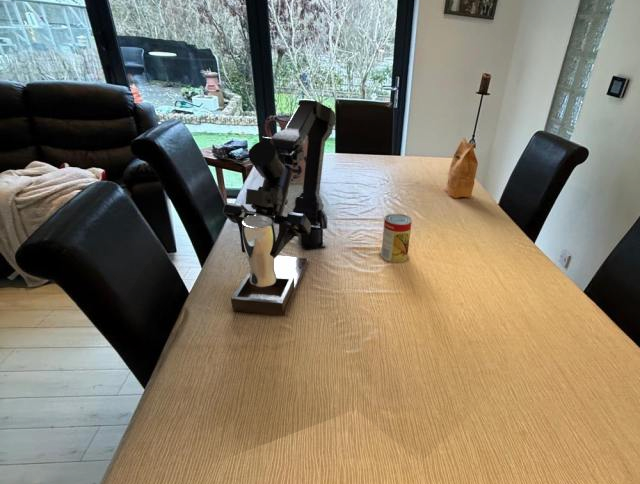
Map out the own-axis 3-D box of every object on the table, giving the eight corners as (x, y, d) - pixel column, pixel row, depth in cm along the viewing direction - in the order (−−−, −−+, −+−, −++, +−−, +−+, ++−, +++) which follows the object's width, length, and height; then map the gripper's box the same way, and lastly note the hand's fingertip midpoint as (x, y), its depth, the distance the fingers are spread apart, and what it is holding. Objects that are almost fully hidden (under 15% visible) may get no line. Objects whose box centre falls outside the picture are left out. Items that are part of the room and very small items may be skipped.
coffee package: (463, 189, 185) (473, 137, 173) (473, 199, 175) (484, 145, 163) (442, 189, 183) (450, 136, 171) (451, 199, 173) (460, 144, 161)
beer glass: (284, 281, 97) (281, 222, 88) (259, 292, 92) (253, 231, 84) (266, 269, 100) (262, 211, 91) (241, 279, 96) (234, 219, 87)
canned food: (412, 257, 125) (417, 219, 119) (395, 265, 120) (399, 226, 114) (393, 248, 129) (397, 211, 123) (375, 255, 124) (378, 217, 118)
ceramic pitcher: (314, 189, 169) (313, 123, 155) (262, 185, 168) (256, 118, 154) (320, 176, 183) (320, 115, 170) (272, 172, 183) (268, 111, 169)
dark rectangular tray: (265, 259, 117) (264, 246, 115) (307, 262, 117) (307, 250, 115) (231, 313, 94) (229, 298, 92) (284, 318, 94) (283, 303, 92)
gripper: (220, 165, 87) (200, 235, 84) (305, 177, 85) (287, 249, 82) (242, 190, 98) (224, 252, 95) (318, 201, 96) (302, 265, 93)
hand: (258, 254), depth 91 cm, fingers closed on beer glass, 7 cm apart
